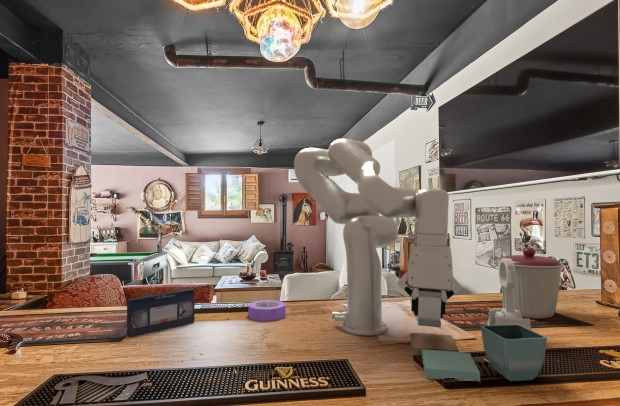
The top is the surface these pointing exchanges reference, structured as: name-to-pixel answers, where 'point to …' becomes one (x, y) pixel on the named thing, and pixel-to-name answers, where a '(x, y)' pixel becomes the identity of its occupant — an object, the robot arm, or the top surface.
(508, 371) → the flower pot
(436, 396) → the top surface
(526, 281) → the canister
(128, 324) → the vhs cassette tape
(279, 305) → the masking tape
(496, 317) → the engine component
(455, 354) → the stand
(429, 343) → the stand
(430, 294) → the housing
